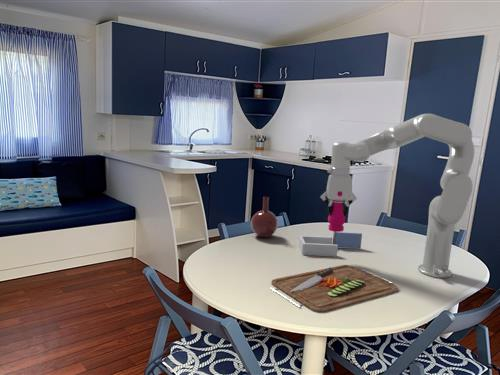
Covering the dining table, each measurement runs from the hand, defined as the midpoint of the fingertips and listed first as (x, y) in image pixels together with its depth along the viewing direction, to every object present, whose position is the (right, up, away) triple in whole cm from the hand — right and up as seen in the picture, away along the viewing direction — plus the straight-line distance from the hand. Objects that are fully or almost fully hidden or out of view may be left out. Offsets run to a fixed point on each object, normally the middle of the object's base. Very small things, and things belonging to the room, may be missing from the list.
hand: (337, 214), depth 175 cm
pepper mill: (0, -7, +1) cm, 7 cm away
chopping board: (-6, -25, -25) cm, 36 cm away
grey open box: (-6, -17, +13) cm, 23 cm away
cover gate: (+8, -17, +20) cm, 27 cm away
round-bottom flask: (-30, -13, +31) cm, 45 cm away
